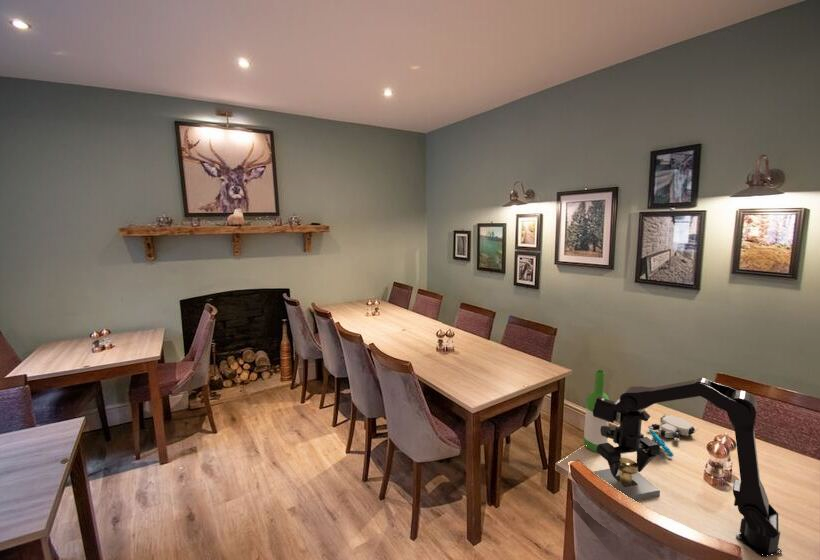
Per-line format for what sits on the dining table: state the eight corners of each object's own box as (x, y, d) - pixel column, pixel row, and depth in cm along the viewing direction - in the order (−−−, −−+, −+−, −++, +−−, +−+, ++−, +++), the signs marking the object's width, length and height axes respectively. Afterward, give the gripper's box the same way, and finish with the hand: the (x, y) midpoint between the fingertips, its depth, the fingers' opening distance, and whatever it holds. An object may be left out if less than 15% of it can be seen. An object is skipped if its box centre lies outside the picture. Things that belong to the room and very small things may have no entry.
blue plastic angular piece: (678, 459, 127) (655, 434, 130) (663, 468, 129) (641, 444, 132) (669, 445, 138) (648, 423, 140) (655, 454, 139) (635, 432, 142)
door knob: (640, 491, 115) (642, 468, 114) (624, 494, 114) (626, 471, 112) (625, 478, 121) (627, 456, 119) (610, 481, 119) (611, 458, 118)
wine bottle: (591, 438, 143) (596, 365, 138) (610, 448, 136) (617, 372, 132) (579, 445, 139) (584, 370, 134) (599, 456, 132) (604, 377, 127)
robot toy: (679, 449, 137) (699, 435, 144) (679, 438, 136) (700, 424, 143) (645, 433, 148) (666, 420, 155) (645, 422, 147) (666, 410, 154)
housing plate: (659, 495, 113) (660, 490, 112) (620, 503, 110) (620, 497, 110) (628, 470, 124) (629, 465, 124) (592, 476, 121) (593, 471, 121)
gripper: (634, 411, 124) (631, 453, 126) (586, 418, 120) (583, 461, 122) (663, 429, 113) (659, 475, 115) (611, 437, 109) (607, 484, 111)
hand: (626, 473), depth 116 cm, fingers open, 9 cm apart
